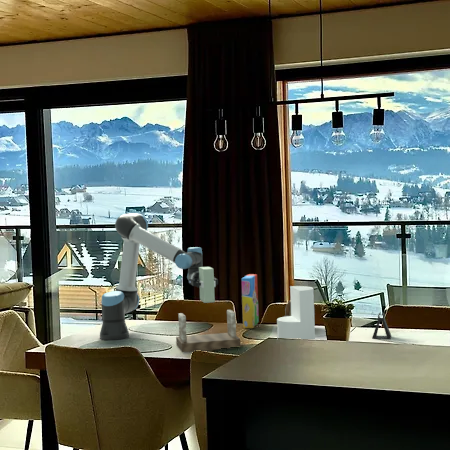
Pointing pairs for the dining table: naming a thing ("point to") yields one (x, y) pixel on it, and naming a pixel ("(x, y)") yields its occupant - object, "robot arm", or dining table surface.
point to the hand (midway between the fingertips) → (208, 284)
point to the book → (207, 284)
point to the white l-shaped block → (299, 315)
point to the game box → (250, 301)
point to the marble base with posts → (207, 336)
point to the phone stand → (388, 334)
